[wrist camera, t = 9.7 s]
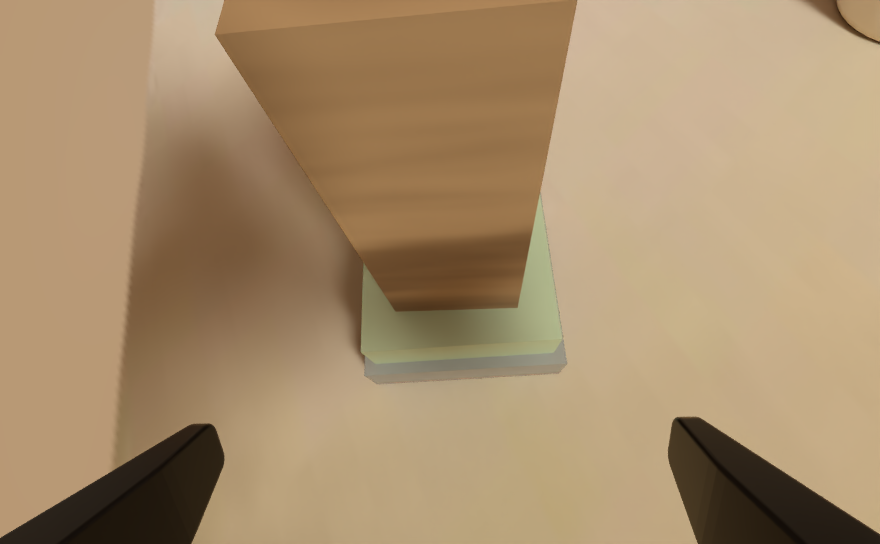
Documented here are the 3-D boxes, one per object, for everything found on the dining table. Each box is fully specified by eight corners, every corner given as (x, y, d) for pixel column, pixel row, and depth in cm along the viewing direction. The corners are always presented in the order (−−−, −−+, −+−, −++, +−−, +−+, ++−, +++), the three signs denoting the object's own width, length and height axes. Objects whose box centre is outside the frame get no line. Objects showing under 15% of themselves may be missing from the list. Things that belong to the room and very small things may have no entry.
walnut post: (517, 307, 18) (578, -1, 6) (395, 311, 18) (214, 34, 6) (510, 201, 20) (543, -196, 8) (399, 207, 20) (268, -158, 8)
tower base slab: (558, 373, 21) (566, 363, 19) (377, 384, 22) (364, 375, 20) (535, 213, 25) (539, 188, 23) (379, 227, 26) (368, 204, 23)
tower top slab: (553, 352, 19) (562, 338, 17) (375, 364, 20) (360, 352, 18) (531, 197, 22) (536, 168, 20) (377, 211, 23) (365, 184, 21)
